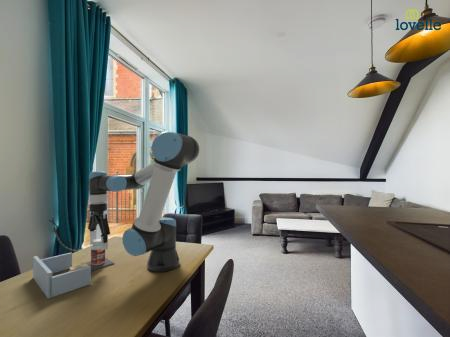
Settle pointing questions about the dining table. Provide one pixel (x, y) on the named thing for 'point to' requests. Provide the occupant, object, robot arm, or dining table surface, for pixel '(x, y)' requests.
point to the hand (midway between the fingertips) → (98, 246)
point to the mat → (95, 267)
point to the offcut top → (77, 267)
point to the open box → (62, 281)
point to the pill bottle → (97, 253)
